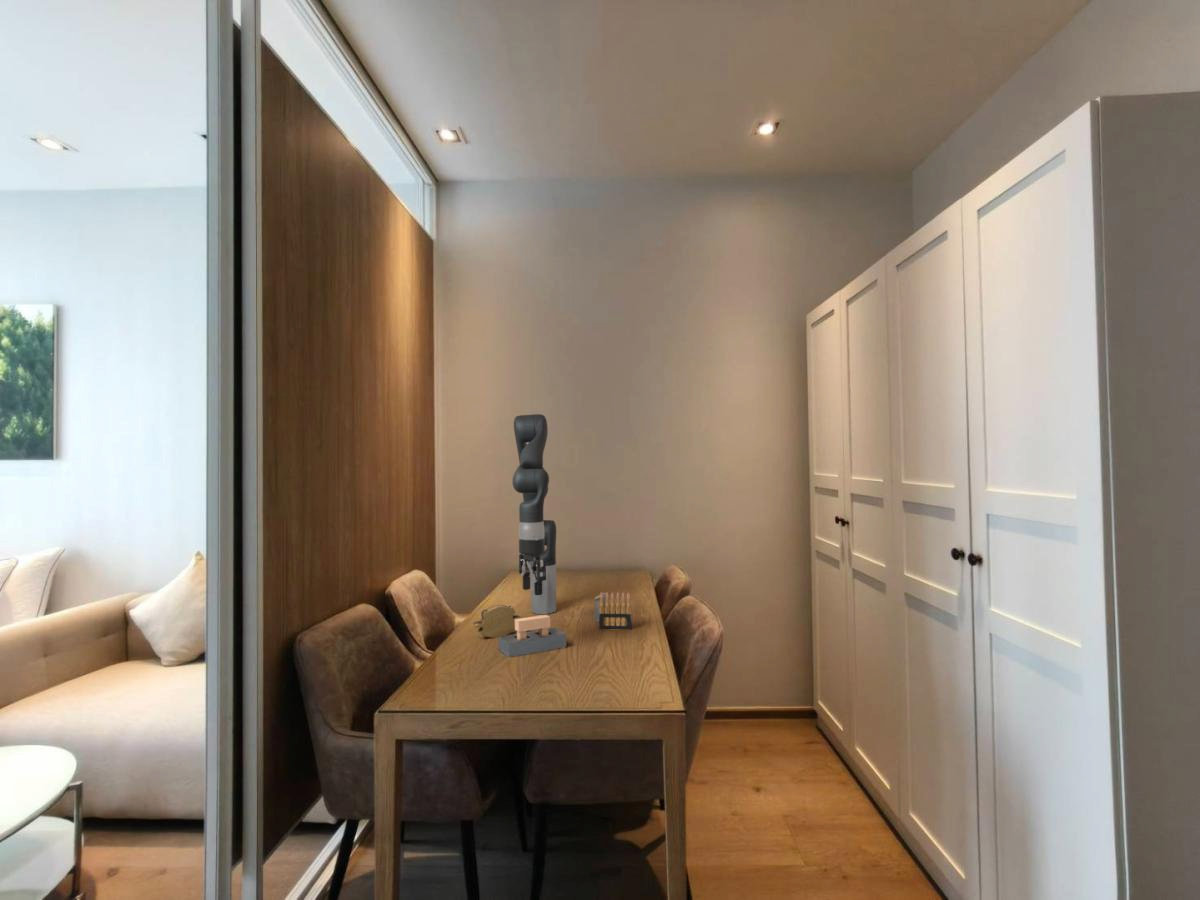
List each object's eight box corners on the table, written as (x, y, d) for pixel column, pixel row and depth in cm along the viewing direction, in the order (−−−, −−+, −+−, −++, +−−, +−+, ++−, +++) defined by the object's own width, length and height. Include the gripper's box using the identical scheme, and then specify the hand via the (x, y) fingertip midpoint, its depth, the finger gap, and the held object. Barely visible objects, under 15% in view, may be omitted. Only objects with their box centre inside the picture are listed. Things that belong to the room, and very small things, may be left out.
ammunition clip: (632, 628, 209) (631, 591, 209) (631, 629, 207) (631, 592, 207) (599, 627, 210) (599, 591, 210) (598, 629, 208) (598, 592, 209)
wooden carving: (519, 631, 207) (519, 600, 208) (525, 634, 204) (525, 602, 204) (471, 639, 199) (471, 607, 199) (477, 642, 195) (476, 609, 195)
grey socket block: (498, 650, 187) (498, 636, 187) (554, 640, 196) (554, 627, 196) (509, 657, 180) (508, 643, 180) (566, 647, 189) (566, 633, 189)
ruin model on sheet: (603, 622, 219) (602, 594, 219) (594, 622, 219) (594, 593, 219) (609, 614, 230) (609, 587, 230) (601, 614, 230) (600, 587, 230)
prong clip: (515, 646, 186) (514, 619, 187) (546, 641, 191) (545, 614, 192) (519, 649, 184) (518, 621, 184) (550, 644, 189) (550, 616, 189)
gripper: (510, 535, 192) (511, 589, 192) (529, 540, 180) (530, 598, 180) (533, 533, 196) (534, 586, 196) (553, 538, 184) (554, 595, 184)
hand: (532, 592), depth 188 cm, fingers open, 8 cm apart
